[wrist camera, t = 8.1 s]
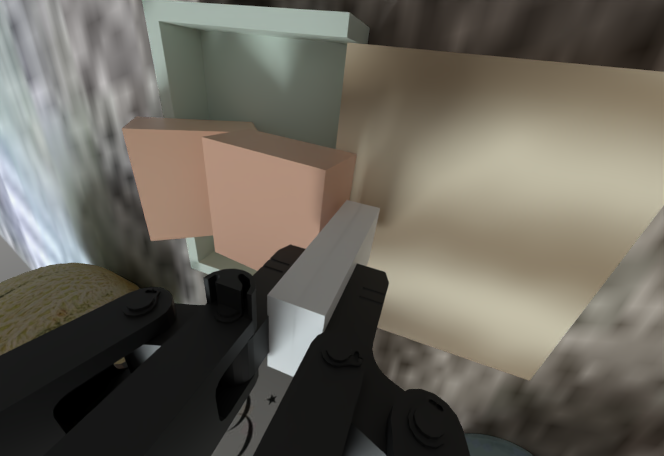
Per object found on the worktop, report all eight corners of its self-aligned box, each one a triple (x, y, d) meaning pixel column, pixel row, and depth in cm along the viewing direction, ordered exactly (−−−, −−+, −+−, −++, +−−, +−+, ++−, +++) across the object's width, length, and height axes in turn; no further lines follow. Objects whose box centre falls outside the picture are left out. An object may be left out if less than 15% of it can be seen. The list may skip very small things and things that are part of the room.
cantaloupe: (172, 258, 27) (-60, 409, 15) (194, 355, 34) (52, 511, 22) (66, 223, 31) (-191, 318, 18) (106, 316, 38) (-59, 431, 25)
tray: (196, 14, 16) (141, -2, 13) (369, 27, 14) (349, 12, 11) (222, 245, 24) (191, 267, 21) (334, 280, 21) (317, 312, 18)
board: (370, 52, 14) (347, 42, 11) (663, 81, 11) (759, 80, 8) (338, 271, 21) (318, 307, 17) (513, 325, 18) (529, 380, 15)
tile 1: (249, 128, 14) (201, 136, 12) (356, 154, 12) (325, 169, 10) (252, 229, 17) (215, 251, 15) (339, 262, 15) (312, 295, 13)
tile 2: (259, 132, 15) (252, 121, 17) (121, 128, 12) (136, 116, 15) (261, 231, 18) (255, 209, 20) (151, 241, 15) (158, 216, 18)
